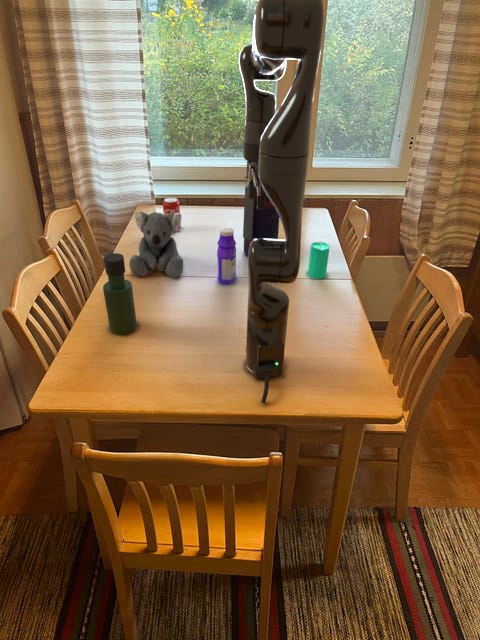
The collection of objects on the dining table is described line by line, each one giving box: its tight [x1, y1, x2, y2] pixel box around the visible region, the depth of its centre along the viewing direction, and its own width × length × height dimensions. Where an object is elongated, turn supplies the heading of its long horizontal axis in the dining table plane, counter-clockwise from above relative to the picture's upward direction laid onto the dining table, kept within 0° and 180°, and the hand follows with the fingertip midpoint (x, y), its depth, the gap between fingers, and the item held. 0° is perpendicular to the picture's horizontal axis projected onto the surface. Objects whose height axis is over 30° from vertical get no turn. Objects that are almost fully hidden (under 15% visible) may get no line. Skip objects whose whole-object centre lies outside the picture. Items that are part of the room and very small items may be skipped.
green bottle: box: [102, 273, 138, 336], centre depth 124 cm, size 7×7×17 cm
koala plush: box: [128, 210, 184, 279], centre depth 153 cm, size 17×18×20 cm
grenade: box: [242, 175, 280, 256], centre depth 159 cm, size 14×12×30 cm
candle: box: [307, 241, 331, 280], centre depth 152 cm, size 6×6×12 cm
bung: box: [103, 252, 126, 276], centre depth 118 cm, size 5×5×6 cm
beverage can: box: [162, 196, 182, 233], centre depth 181 cm, size 6×6×12 cm
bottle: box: [216, 226, 237, 285], centre depth 146 cm, size 7×6×17 cm
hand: (256, 203), depth 124 cm, fingers open, 8 cm apart
